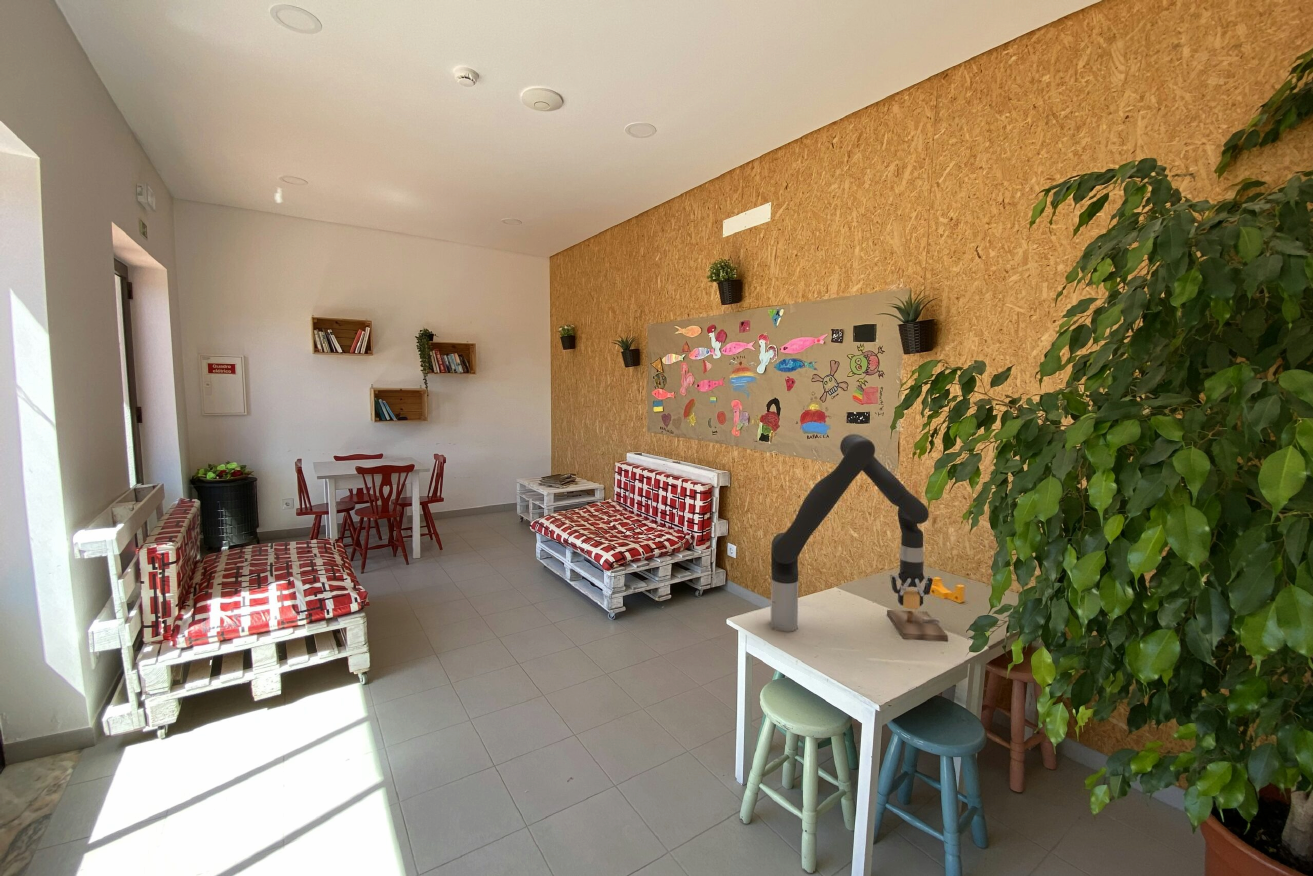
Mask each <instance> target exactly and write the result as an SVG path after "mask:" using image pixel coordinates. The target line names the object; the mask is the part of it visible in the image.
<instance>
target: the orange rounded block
mask: <svg viewBox="0 0 1313 876" xmlns="http://www.w3.org/2000/svg"><path fill="white" fill-rule="evenodd" d="M903 596H904V597H903V605H901V606H902V608H905V609H909V610H918V609H920V608H921V606H920V595H919V592H918V591H917V590H913V589H906V590H905V592H904V594H903Z"/></svg>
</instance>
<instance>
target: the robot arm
mask: <svg viewBox="0 0 1313 876" xmlns="http://www.w3.org/2000/svg"><path fill="white" fill-rule="evenodd" d="M839 449H840V452H841V454H842V456H843V457H842V459H841V460H840V462H839V463H838V465H837V466H836V467H835V468H834V469H833V470H832V471H831V472H830V473H829V474H827V475H826V476H824V477H823V478H821V479H820V480H819V481H818V482H816V483H815V485H814V486H813V487H812V489H811V490H809V492H808V494H807V495H806V496H805V498H804V500H803V501H802V503H801V505H800V508H799V509H798V511H797V514H796V516H795V517H794V520H793V521H792V524H790V526H789V527H788V528H787V529H786V531H785V532H779V533H777V534H775V536H774V537H773V538H772V542H771V552H770V555H771V556H770V559H771V563H770V567H771V570H770V571H771V576H770V577H771V592H770V594H771V595H770V627H771V630H776V631H779V632H783V633H789V632H794V631H797V629H798V626H799V625H798V624H799V622H798V621H799V616H798V615H799V564H798V563H799V556H800V554H801V553H802V550H803V548H805V545H806V544H807V542H808V540H809V538H811V536H812V534H813V533H814V532H815V531H816V530H817V529H818V528H819V526H821V523H823V521H824V520H825V519H826V518H827V516H828V515H829V514H830V512H832V510H833V508H834V507H835V505H836V504H838V502H839V500H840V498H841V497H842V496H843V494H844V493H845V491H846V490H847V489H848V488H849V486H850V485H851V484H852V483H853V481H854V480H855V479H856V478H857V477H858V476H859V474H860V473H862V472H863V473H864V474H865V475H866V476H867V477H868V478H869V480H870V481H871V482H872V483H873V484H874V486H875V487H876V488H877V489H878V490H879V492H880V493H882V494H883V496H884V497H885V498H886V499H887V500H888V501H889V502H890V503H891V504H892V505H893V506H896V507H897V519H898V523H899V527H900V528H899V529H900V532H901V538H900V539H901V542H900V543H901V544H900V551H899V552H900V553H899V572H898V573H897V574H896V575H893V574H890V575H889V579H890V584H891V590H892V591H893V592H894V593H895V594H897V602H898V604H899V605H900V606H902V605H903V597H904V596H903V594H904V592H905V590H908V588H916V591H917V592H919V595H920V607H922V605H923V604H924V596H926V595H931V594H930V590H931V586H933V578H932V577H931V576H929V575H928V576H925V575H924V562H925V561H924V559H925V555H924V554H925V551H924V532H923V531H922V530H921V529H920V528H919V526H918V525H921V524H924V523H925V522H927V521H928V519H929V515H930V514H929V509H928V507H927V506H926V505H925V503H923V502H922V501H921V500H920V499H918V498H917V497H916V496H915V495H914V494H912V493H911V492H910V491H909V490H908V489H907V487H906V486H905V485H904V484H903V483H902V482H901V481H900V480H899V478H898V477H896V475H894V473H892V472H891V471H890V470H889V469H888V468H887V467H885V466H884V465H883V464H882V463H881V462H880V461H879V460H878V459H877V457H876V456H875V453H876V446H875V444H874V443H873V442H872V441H871V440H870V439H868V438H866V437H865V436H863V435H860V434H856V433H853V434H852V433H850V434H848V435H846V436H844V437H843V439H842V440H841V441H840V445H839ZM898 581H901V582H900V583H899V587H898V584H897V582H898ZM923 581H924V587H922V585H921V584H922V582H923Z"/></svg>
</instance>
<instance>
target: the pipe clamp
mask: <svg viewBox="0 0 1313 876" xmlns="http://www.w3.org/2000/svg"><path fill="white" fill-rule="evenodd" d="M932 579H933V582H932V586H931V590H930V594H929V595H932V596H935V597H937V598H939V599H940V598H941V599H943V600H946V599H947V600H950V601H953V602H956V603H958V604H961V603H964V602H965V585H962V584H957V585H955V587H954V590H953V591H951V590H948V589H947V588H946V587H945V586H944V584H943V581H942V578H941V577H938V576H935V577H933V578H932Z"/></svg>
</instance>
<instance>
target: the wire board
mask: <svg viewBox="0 0 1313 876" xmlns="http://www.w3.org/2000/svg"><path fill="white" fill-rule="evenodd" d="M886 616H887V617H888V618H889V620H890V622H891V623H892V625H893V626H894V627H895V629H896V630H897V632H898V633H899V635H900V636H901V638H902V639H904V640H918V641H939V642H948V641H949V635H948V634H947V632H945V630H944V629H943V628H942V627H941V626H940V625H939V624H940V619H939V618H936V617H932V616H931V615H930V613H928V611H920V610H918V611H917V610H903V609H902V610H900V609H898V610H897V609H886Z"/></svg>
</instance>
